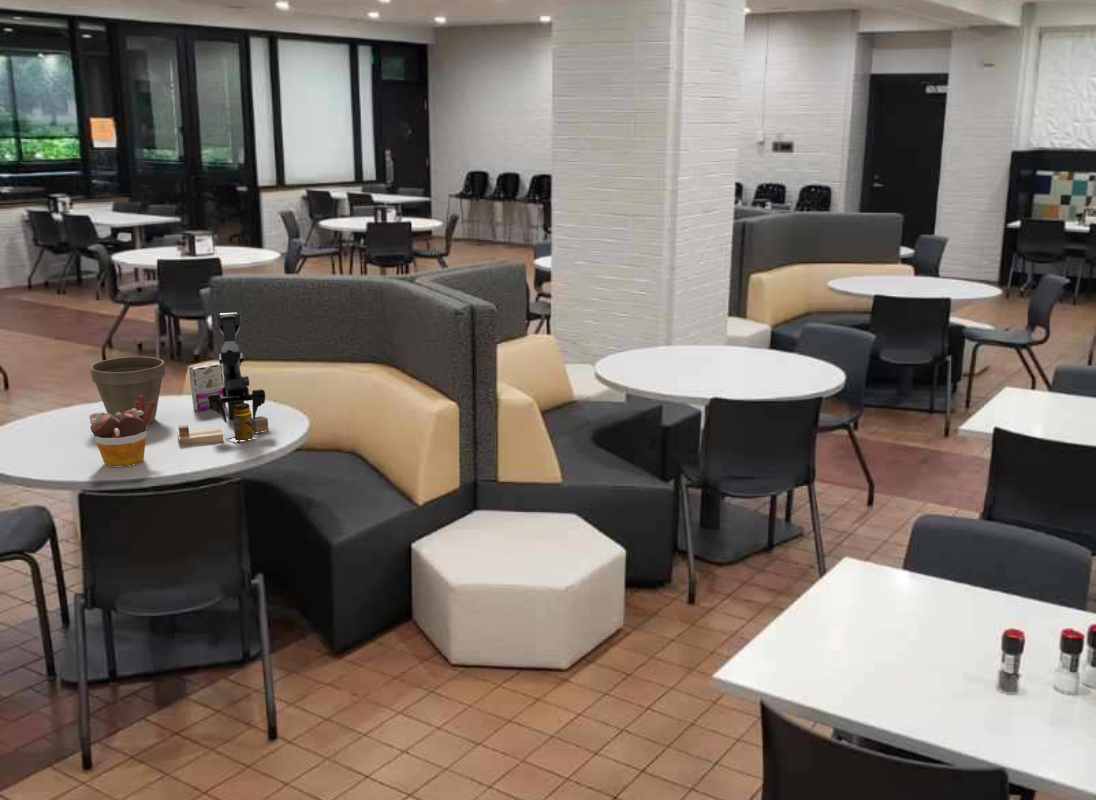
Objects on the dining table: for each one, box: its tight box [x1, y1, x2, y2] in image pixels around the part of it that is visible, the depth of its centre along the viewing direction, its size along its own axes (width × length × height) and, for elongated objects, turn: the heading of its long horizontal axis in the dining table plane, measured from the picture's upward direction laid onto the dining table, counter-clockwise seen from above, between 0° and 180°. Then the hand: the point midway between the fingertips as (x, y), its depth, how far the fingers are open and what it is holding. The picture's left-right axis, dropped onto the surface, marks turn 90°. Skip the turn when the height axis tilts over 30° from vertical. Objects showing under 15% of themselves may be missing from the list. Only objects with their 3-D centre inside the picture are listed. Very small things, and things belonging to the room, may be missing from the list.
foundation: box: [177, 424, 224, 447], centre depth 366 cm, size 9×14×6 cm, turn 112°
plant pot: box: [89, 356, 166, 424], centre depth 387 cm, size 25×25×22 cm
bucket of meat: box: [89, 395, 155, 467], centre depth 342 cm, size 20×16×20 cm
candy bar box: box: [188, 362, 227, 412], centre depth 406 cm, size 11×5×16 cm, turn 130°
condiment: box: [225, 402, 254, 441], centre depth 365 cm, size 7×8×12 cm
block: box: [252, 415, 269, 433], centre depth 376 cm, size 4×4×4 cm
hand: (240, 420), depth 365 cm, fingers open, 9 cm apart
